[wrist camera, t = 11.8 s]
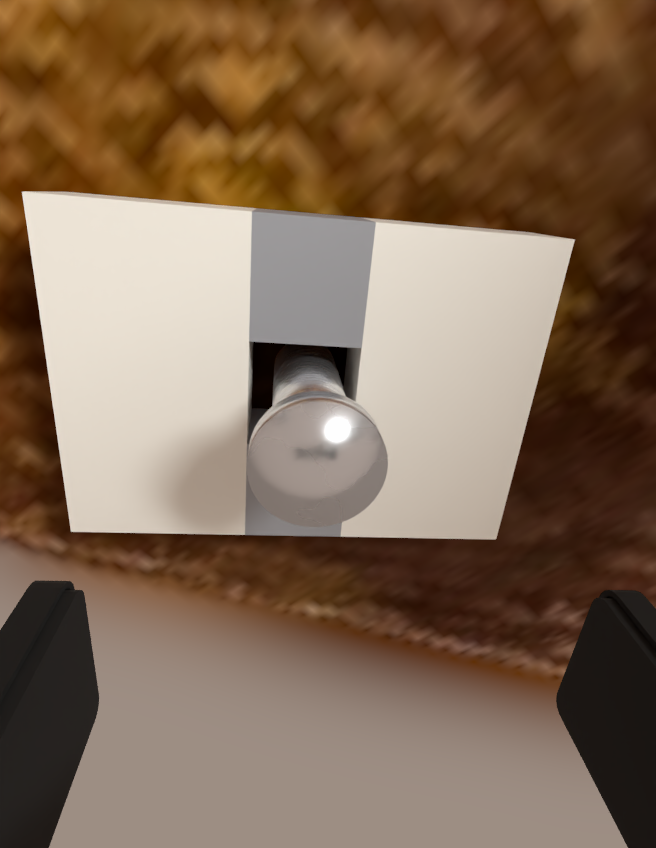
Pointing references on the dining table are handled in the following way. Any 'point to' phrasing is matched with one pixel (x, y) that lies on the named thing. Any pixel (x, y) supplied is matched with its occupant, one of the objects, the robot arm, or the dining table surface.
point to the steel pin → (314, 444)
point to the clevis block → (289, 324)
